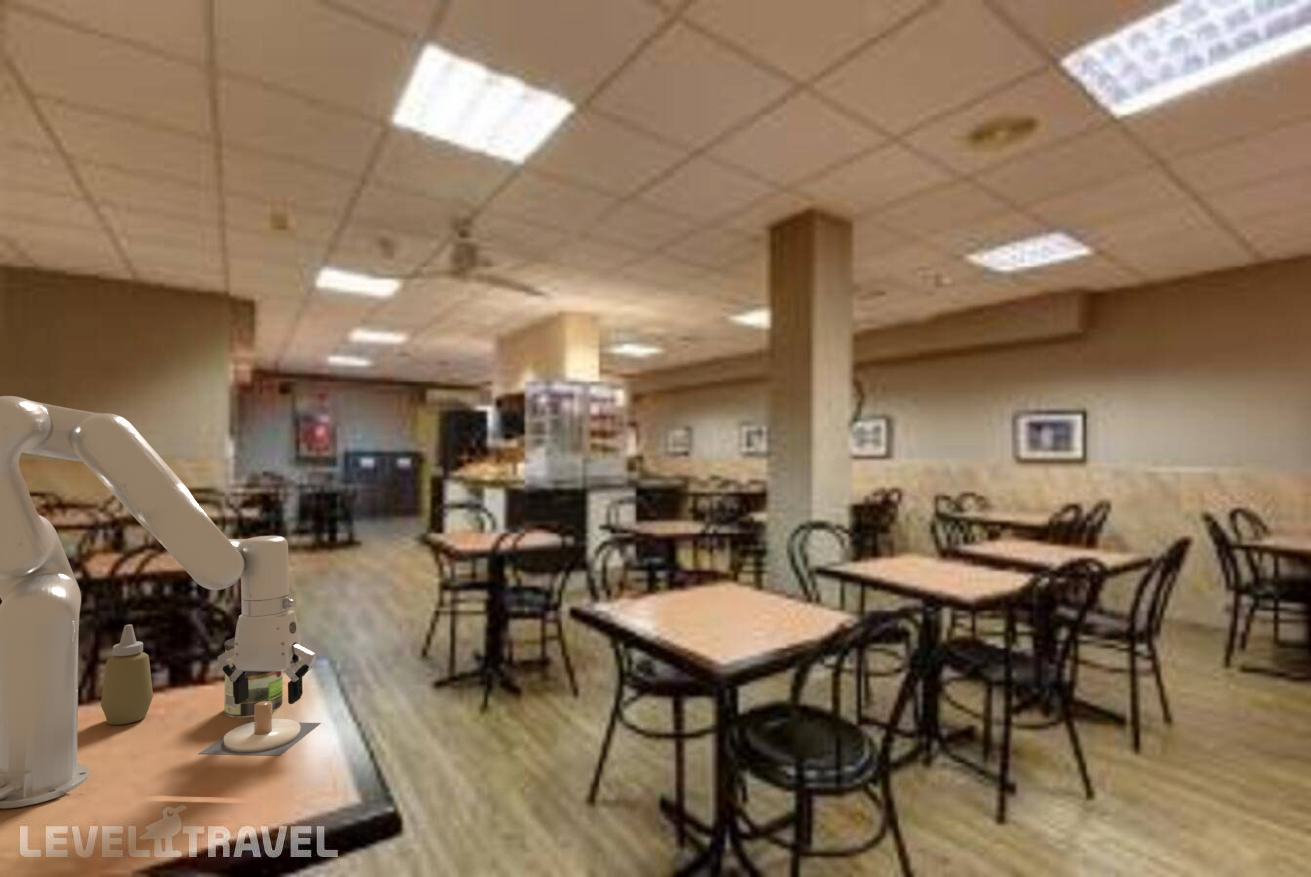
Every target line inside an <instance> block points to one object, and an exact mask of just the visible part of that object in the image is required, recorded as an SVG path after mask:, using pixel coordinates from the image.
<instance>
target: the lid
mask: <svg viewBox="0 0 1311 877" xmlns="http://www.w3.org/2000/svg"><path fill="white" fill-rule="evenodd" d="M253 718H254V722H251V723H248V724H244V723H243V724H244V725H243V724H241V725H242V726H241V725H239V726H237V727H234V728H232V729H231V730H229V731H228V732H226V733H225V735H224V736H223V737H224V747H225V748H226V749H228V750H231V751H236V752H254V751H262V750H267V749H272V748H275V747H279V746H282V745H284V744H287V743H289V742H291V741H293V740H294V739H296V738H297V737H298V736H299V735H300V727H301V726H300V724H299V723H298V721H297V720H293V719H287V718H273V711H272V702H271V701H262V702H258V703H256V704H255V705H254V716H253Z"/></svg>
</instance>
